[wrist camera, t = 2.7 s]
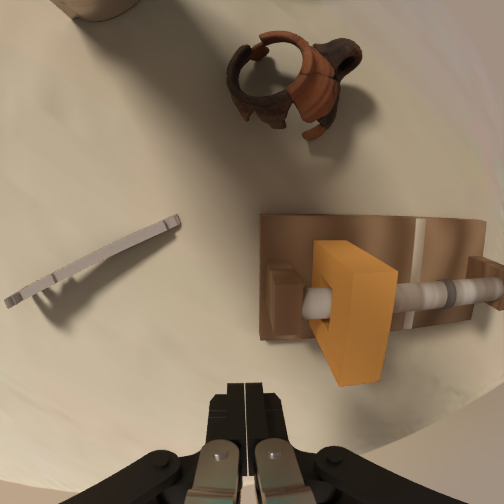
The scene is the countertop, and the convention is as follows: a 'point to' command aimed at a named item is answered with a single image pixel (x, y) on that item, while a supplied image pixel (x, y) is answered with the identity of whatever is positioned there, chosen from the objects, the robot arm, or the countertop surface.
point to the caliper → (92, 259)
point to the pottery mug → (297, 81)
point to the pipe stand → (386, 250)
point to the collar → (353, 310)
